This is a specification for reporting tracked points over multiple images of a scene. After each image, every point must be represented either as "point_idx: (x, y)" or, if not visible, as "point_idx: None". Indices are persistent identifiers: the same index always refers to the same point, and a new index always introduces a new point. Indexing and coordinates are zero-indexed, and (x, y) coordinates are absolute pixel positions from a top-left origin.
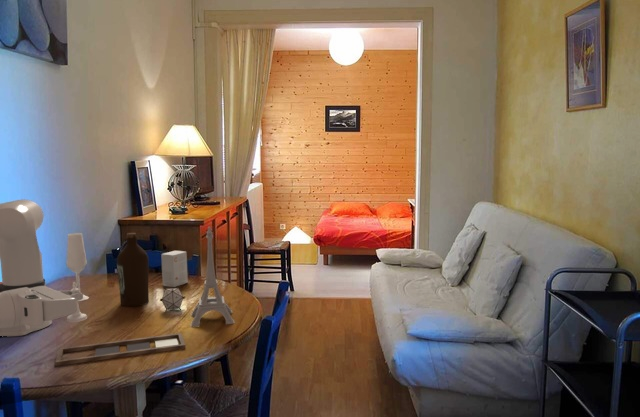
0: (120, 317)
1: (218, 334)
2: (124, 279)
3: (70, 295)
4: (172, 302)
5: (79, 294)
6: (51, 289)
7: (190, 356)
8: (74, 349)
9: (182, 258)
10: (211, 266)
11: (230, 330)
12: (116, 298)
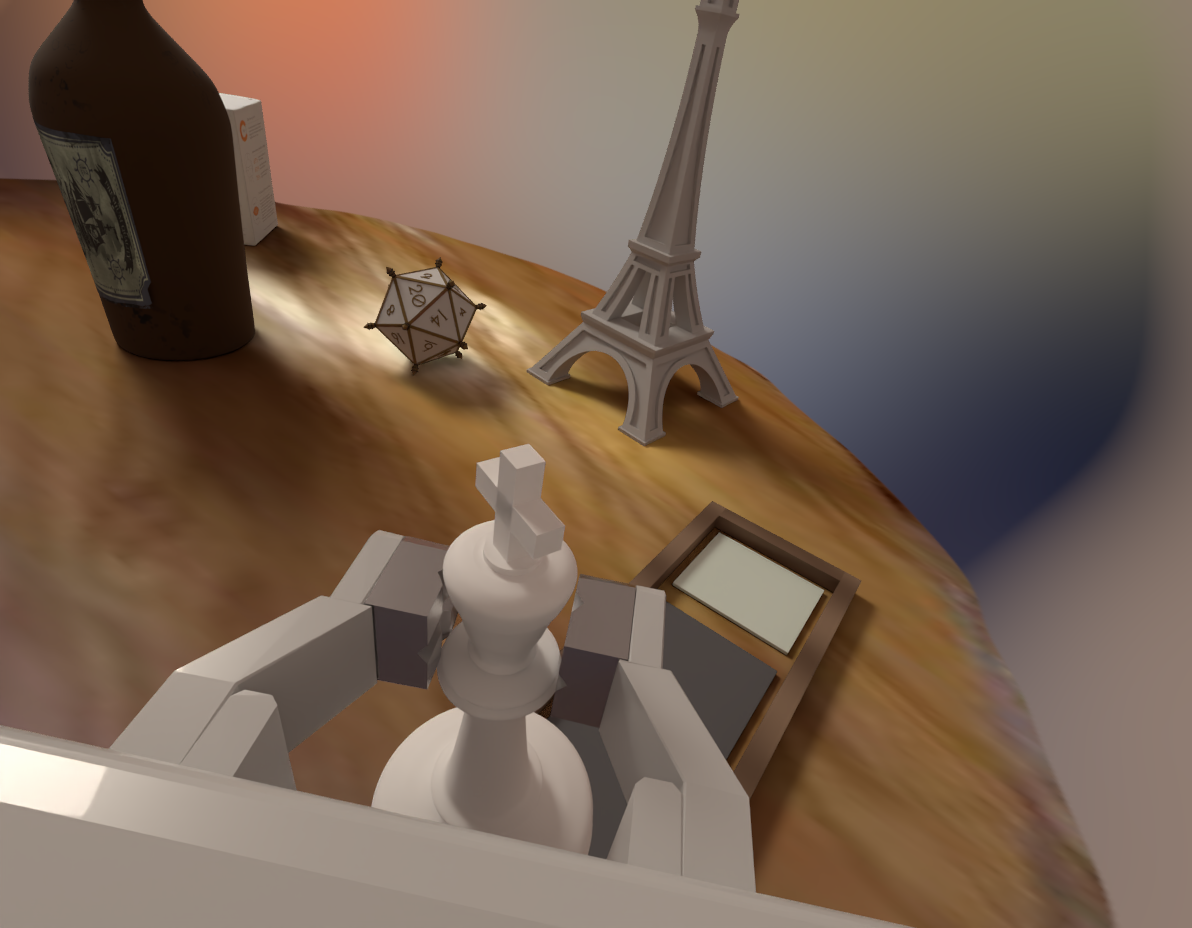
0: (241, 442)
1: (795, 467)
2: (138, 228)
3: (742, 801)
4: (455, 335)
5: (661, 633)
6: (26, 809)
7: (963, 644)
8: None
9: (256, 128)
10: (692, 176)
11: (788, 436)
12: (47, 315)
